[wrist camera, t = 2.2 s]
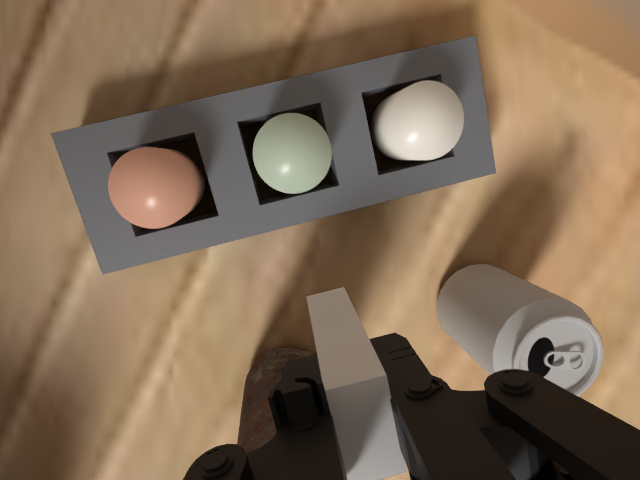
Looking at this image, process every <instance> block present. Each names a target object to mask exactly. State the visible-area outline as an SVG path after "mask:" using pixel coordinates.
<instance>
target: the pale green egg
mask: <svg viewBox="0 0 640 480" xmlns="http://www.w3.org/2000/svg"><path fill="white" fill-rule="evenodd" d="M331 158H332V149H331V144H330V140H329V138H328V136H327V134H326V132H325V130H324V129H323V128H322V127H321V125H320V124H318V123H317V122H316V121H315V120H313V119H312V118H310V117H308V116H306V115H303V114H299V113H285V114H281V115H278V116H275V117H273V118H272V119H270V120H269V121H267V122H266V123H265V124H264V125H263V126H262V127H261V129H260V130H259V132H258V133H257V136H256V138H255V141H254V145H253V161H254V165H255V168H256V170H257V172H258V174H259V175H260V177H261V178H262V179H263V181H264V182H265V183H267V184H268V185H269V186H270V187H272V188H273V189H275V190H277V191H280V192H284V193H290V194H295V193H302V192H305V191H308V190H310V189H312V188H314V187H315V186H316V185H318V184H319V183H320V182H321V181H322V180H323V178H324V177H325V176H326V174H327V172H328V170H329V167H330V164H331Z"/></svg>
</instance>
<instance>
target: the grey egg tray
mask: <svg viewBox="0 0 640 480" xmlns="http://www.w3.org/2000/svg"><path fill="white" fill-rule="evenodd" d="M426 80H431V81H437V82H440V83H442V84H445V85H446V86H448V87H449V88H450V89H452V90H453V91H454V93H455V94H456V95H457V97H458V98H459V100H460V102H461V105H462V107H463V112H464V125H463V130H462V133H461V136H460V138H459V140H458V142H457V143H456V145H455V146H454V147H453V148H452V149H451V150H450V151H449V152H448V153H446V154H445V155H443V156H441V157H439V158H436V159H433V160H419V161H415V162H411V163H407V164H403V165H399V166H395V167H391V168H387V169H383V170H379V171H377V166H376V161H375V156H374V152H373V147H372V142H371V137H370V132H369V127H368V122H367V118H366V113H365V108H364V103H363V98H362V97H367V96H371V95H375V94H379V93H383V92H388V91H392V90H396V89H400V88H405V87H408V86H410V85H412V84H414V83H417V82H420V81H426ZM312 109H314V110H315V115H316V119H317V123H318V124H320V125H321V127H322V128H323V129H324V130H325V132H326V134H327V136H328V138H329V140H330V144H331V149H332V158H331V164H330V167H329V170H328V171H329V175H330V179H331V183H328V184H324V185H320V186H316V187H314V188H312V189H310V190H308V191H305V192H302V193H295V194H290V193H288V194H284V195H280V196H276V197H272V198H268V199H264V200H260V197H259V193H258V190H257V186H256V182H255V178H254V175H253V171H252V167H251V164H250V160H249V156H248V153H247V149H246V145H245V141H244V138H243V134H242V130H241V127H240V126H244V125H249V124H253V123H257V122H261V121H265V120H270V119H272V118H273V117H275V116H278V115H281V114H285V113H299V112H303V111H308V110H312ZM51 135H52V138H53V141H54V143H55V146H56V149H57V151H58V154H59V157H60V160H61V162H62V165H63V168H64V171H65V173H66V176H67V179H68V181H69V184H70V187H71V190H72V192H73V195H74V198H75V201H76V203H77V206H78V209H79V212H80V214H81V217H82V220H83V222H84V225H85V228H86V231H87V233H88V236H89V239H90V242H91V244H92V247H93V250H94V252H95V255H96V258H97V261H98V263H99V266H100V269H101V272H102V274H106V273H110V272H114V271H118V270H122V269H125V268H129V267H133V266H137V265H141V264H145V263H149V262H153V261H156V260H160V259H164V258H168V257H172V256H176V255H180V254H184V253H188V252H191V251H195V250H199V249H203V248H207V247H211V246H215V245H219V244H222V243H226V242H230V241H234V240H238V239H242V238H246V237H250V236H253V235H257V234H261V233H265V232H269V231H273V230H277V229H281V228H285V227H288V226H292V225H296V224H300V223H304V222H308V221H312V220H316V219H319V218H323V217H327V216H331V215H335V214H339V213H343V212H347V211H350V210H354V209H358V208H362V207H366V206H370V205H374V204H378V203H382V202H385V201H389V200H393V199H397V198H401V197H405V196H409V195H413V194H416V193H420V192H424V191H428V190H432V189H436V188H440V187H444V186H447V185H451V184H455V183H459V182H463V181H467V180H471V179H475V178H478V177H482V176H486V175H490V174H494V173H496V169H495V163H494V156H493V149H492V142H491V135H490V128H489V122H488V115H487V108H486V101H485V94H484V87H483V81H482V74H481V67H480V60H479V53H478V46H477V39H476V36H471V37H467V38H463V39H458V40H454V41H450V42H445V43H441V44H437V45H432V46H428V47H424V48H419V49H415V50H411V51H406V52H402V53H398V54H393V55H389V56H385V57H380V58H376V59H372V60H367V61H363V62H359V63H354V64H350V65H346V66H341V67H337V68H333V69H328V70H324V71H320V72H315V73H311V74H307V75H302V76H298V77H293V78H289V79H285V80H280V81H276V82H272V83H267V84H263V85H259V86H254V87H250V88H246V89H241V90H237V91H233V92H228V93H224V94H220V95H215V96H211V97H207V98H202V99H198V100H194V101H189V102H185V103H181V104H176V105H172V106H168V107H163V108H159V109H155V110H150V111H146V112H142V113H137V114H133V115H129V116H124V117H120V118H116V119H111V120H107V121H103V122H98V123H94V124H90V125H85V126H81V127H77V128H72V129H68V130H64V131H59V132H55V133H51ZM194 137H196V140H197V143H198V147H199V150H200V153H201V157H202V160H203V164H204V167H205V170H206V174H207V177H208V181H209V184H210V187H211V191H212V194H213V198H214V201H215V204H216V208H217V212H213V213H209V214H205V215H201V216H197V217H193V218H189V219H185V220H181V221H177V222H175V223H173V224H171V225H169V226H166V227H163V228H157V229H150V228H143V227H140V226H137V225H134V224H132V223H130V222H129V221H127V220H126V219H125V218H123V217H122V216H121V215H120V214H119V213H118V211H117V210H116V209H115V207H114V205H113V204H112V201H111V199H110V196H109V191H108V180H109V175H110V172H111V170H112V167H113V166H114V164H115V163H116V161H117V160H118V159H119V158H120V157H121V156H123V155H124V154H125V153H127V152H129V151H131V150H134V149H137V148H142V147H156V146H160V145H164V144H168V143H173V142H177V141H181V140H185V139H190V138H194Z"/></svg>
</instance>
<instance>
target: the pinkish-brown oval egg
mask: <svg viewBox="0 0 640 480" xmlns="http://www.w3.org/2000/svg"><path fill="white" fill-rule="evenodd" d="M204 189H205V182H204V176H203V173H202V171H201V169H200V167H199V166H198V164H197V163H196V162H195V161H194V160H193V159H192V158H191V157H190V156H188V155H187V154H185V153H183V152H180V151H177V150H172V149H163V148H154V147H142V148H137V149H134V150H131V151H129V152H127V153H125V154H124V155H123V156H121V157H120V158H119V159H118V160H117V161H116V163H115V164H114V166H113V167H112V170H111V172H110V175H109V180H108V191H109V196H110V199H111V201H112V204H113V205H114V207H115V209H116V210H117V211H118V213H119V214H120V215H121V216H122V217H123V218H125V219H126V220H127V221H129V222H130V223H132V224H134V225H137V226H140V227H143V228H150V229H157V228H163V227H166V226H169V225H171V224H173V223H175V222H177V221H178V220H180V219H181V218H182V217H184V216H185V215H187V214H188V213H190V212H191V211H193V210H194V209H195V208H196V207H197V206H198V204H199V203H200V201H201V199H202V197H203V194H204Z"/></svg>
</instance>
